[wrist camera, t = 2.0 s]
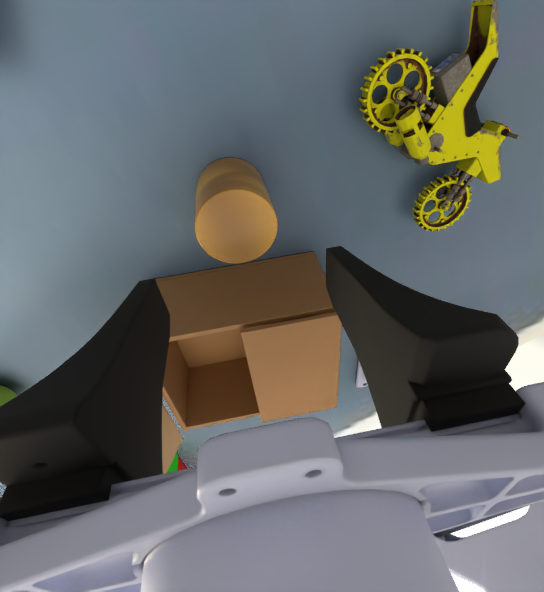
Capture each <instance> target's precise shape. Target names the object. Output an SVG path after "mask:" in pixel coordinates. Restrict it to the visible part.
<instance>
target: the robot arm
mask: <svg viewBox="0 0 544 592" xmlns="http://www.w3.org/2000/svg"><path fill="white" fill-rule="evenodd" d="M326 288H327V291H328V294H329V297H330V300H331V303H332V305H333V307H334V310H335V312H336V314H337V316H338V318H339V320H340V321H341V323H342V325H343V327H344V329H345V331H346V333H347V335H348V337H349V339H350V341H351V343H352V345H353V347H354V349H355V352H356V354H357V357H358V359H359V361H358V369H357V378H356V386H357V387H359V388H361V387H366V386H368V387H369V390H370V392H371V395H372V398H373V402H374V405H375V408H376V411H377V414H378V417H379V420H380V423H381V426H382V428H381V429H376V430H371V431H366V432H362V433H357V434H352V435H347V436H342V437H338V438H334V435H333V432H332V429H331V427H330V426H329V424H328V422H325V421H323V420H319V419H316V418H299V419H294V420H289V421H284V422H279V423H274V424H269V425H264V426H259V427H255V428H250V429H245V430H240V431H235V432H230V433H225V434H222V435H219V436H216V437H213V438H210V439H209V440H208V441H207V442H205V443H204V444H203V445H202V446H201V447H200V448H199V449H198V456H197V467H194V468H189V469H184V470H180V471H175V472H170V473H165V474H163V463H162V395H163V382H164V375H165V368H166V361H167V354H168V347H169V340H170V313H169V311H168V309H167V306H166V304H165V302H164V299H163V297H162V295H161V292H160V290H159V287H158V285H157V283H156V280H155V278H154V279H149V280H143V281H139V283H138V284H137V285H136V286H135V287H134V289H133V290H132V291H131V293H130V294H129V295H128V297H127V298H126V299H125V300H124V302H123V303H122V304H121V305H120V307H119V308H118V309H117V310H116V312H115V313H114V314H113V315H112V316H111V318H110V319H109V320H108V321H107V322H106V323H105V324H104V326H103V327H102V328H101V329H100V330H99V331H98V332H97V333H96V334H95V335H94V336H93V337H92V338H91V339H90V340H89V341H88V342H87V343H86V344H85V345H84V346H83V347H82V348H81V349H80V350H79V351H78V352H76V353H75V354H74V355H73V356H72V357H70V358H69V359H68V360H67V361H66V362H64V363H63V364H62V365H61V366H59V367H58V368H57V369H56V370H54V371H53V372H52V373H50V374H49V375H48V376H46V377H45V378H44V379H42V380H41V381H39V382H38V383H36V384H35V385H34V386H32V387H31V388H29V389H28V390H26V391H25V392H23V393H21V394H20V395H18V396H17V397H15V398H13V399H12V400H10V401H8V402H7V403H5V404H3V405H2V406H0V482H1V483H3V484H4V485H6V486H7V487H6V489H5V492H4V494H3V496H2V498H1V497H0V592H459V591H458V589H457V587H456V585H455V582H454V580H453V578H452V576H451V573H450V572H452V573H454V574H456V575H458V576H460V577H462V578H464V579H466V580H468V581H470V582H472V583H475V584H477V585H479V586H480V587H482V588H483V589H484V590H485V591H486V592H544V382H542V383H537V384H532V385H528V386H524V387H522V388H520V389H518V390H517V391H515V390H514V389H513V388H512V387H511V385H509V383H510V382H511V381H512V379H511V377H510V376H509V375H508V373H507V372H506V371H505V368H506V366H507V365H508V363H509V362H510V360H511V358H512V357H513V355H514V353H515V351H516V349H517V347H518V336H517V335H516V333H515V332H514V331H513V330H512V329H511V328H510V327H509V326H508V325H507V324H506V323H505V322H504V321H503V320H502V319H501V318H500V317H499V316H498V315H497V314H492V313H488V312H483V311H479V310H474V309H469V308H465V307H462V306H458V305H455V304H451V303H448V302H444V301H441V300H438V299H435V298H433V297H430V296H427V295H425V294H422V293H420V292H417V291H415V290H412V289H410V288H408V287H406V286H404V285H402V284H400V283H398V282H396V281H394V280H392V279H390V278H388V277H387V276H385V275H383V274H381V273H380V272H378V271H377V270H375V269H373V268H372V267H370V266H369V265H367V264H366V263H364V262H363V261H361V260H360V259H358V258H357V257H356V256H354V255H353V254H351V253H350V252H349V251H347V250H346V249H344V248H343V247H341V246H338V247H332V248H326ZM528 505H530V508H529V510H528V512H527V514H526V515H524V516H522V517H521V518H519V519H518V520H515V521H512V522H509V523H506V524H503V525H500V526H498V527H495V528H492V529H489V530H486V531H483V532H480V533H477V534H474V535H472V536H469V537H465V538H459V537H456V536H453V535H451V534H450V533H452V532H455V531H458V530H461V529H464V528H466V527H469V526H472V525H475V524H478V523H480V522H483V521H486V520H489V519H492V518H494V517H497V516H500V515H503V514H505V513H508V512H511V511H514V510H517V509H520V508H522V507H525V506H528Z"/></svg>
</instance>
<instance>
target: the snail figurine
mask: <svg viewBox="0 0 544 592" xmlns="http://www.w3.org/2000/svg"><path fill="white" fill-rule="evenodd" d="M17 396H18V395H17V394H16V393H15V392H14V391H12V390H11V389H9V388H7V387H4V386H1V385H0V406H2V405H3V404H5V403H7V402H8V401H10V400H12V399H13V398H15V397H17Z"/></svg>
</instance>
